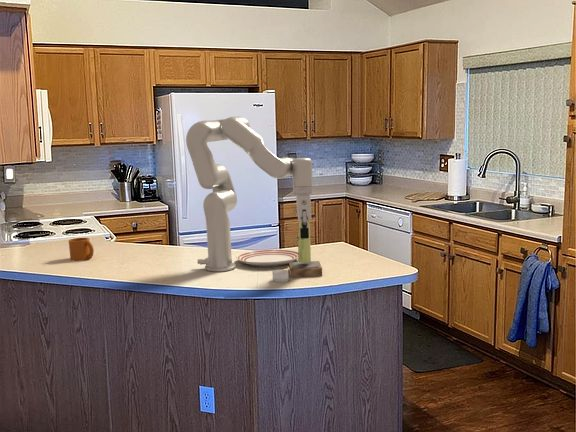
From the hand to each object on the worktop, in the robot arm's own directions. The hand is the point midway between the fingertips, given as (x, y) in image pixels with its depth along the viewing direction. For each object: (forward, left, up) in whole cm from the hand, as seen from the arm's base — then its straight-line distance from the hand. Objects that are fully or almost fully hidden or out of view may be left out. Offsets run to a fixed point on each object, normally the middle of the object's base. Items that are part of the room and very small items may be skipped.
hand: (304, 236), depth 241 cm
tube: (0, 0, -10) cm, 10 cm away
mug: (-98, +42, -15) cm, 107 cm away
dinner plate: (-14, +21, -15) cm, 29 cm away
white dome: (-10, -10, -15) cm, 20 cm away
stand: (0, 0, -14) cm, 14 cm away
